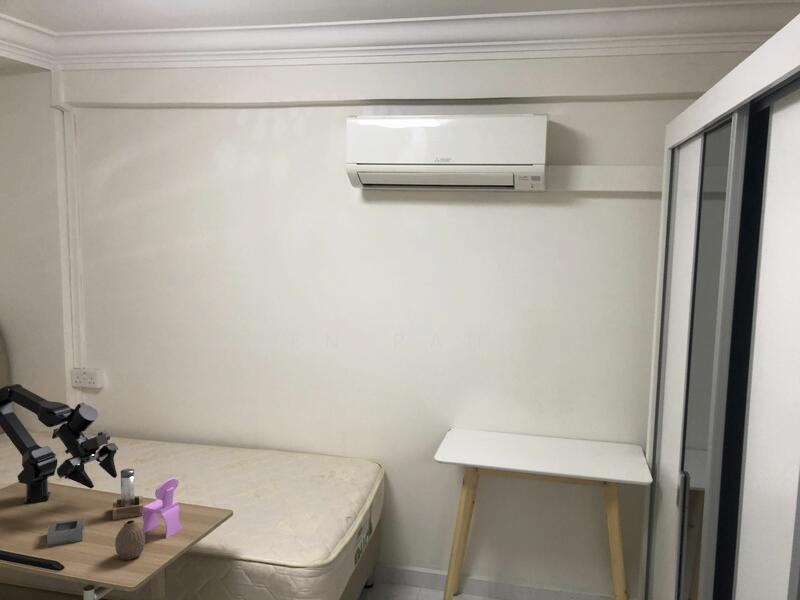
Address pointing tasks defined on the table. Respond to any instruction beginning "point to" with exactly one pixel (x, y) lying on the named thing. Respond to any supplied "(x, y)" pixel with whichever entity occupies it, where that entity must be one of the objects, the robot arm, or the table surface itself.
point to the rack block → (127, 508)
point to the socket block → (65, 531)
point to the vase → (130, 541)
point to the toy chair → (163, 508)
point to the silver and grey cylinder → (127, 488)
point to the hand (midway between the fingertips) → (104, 482)
